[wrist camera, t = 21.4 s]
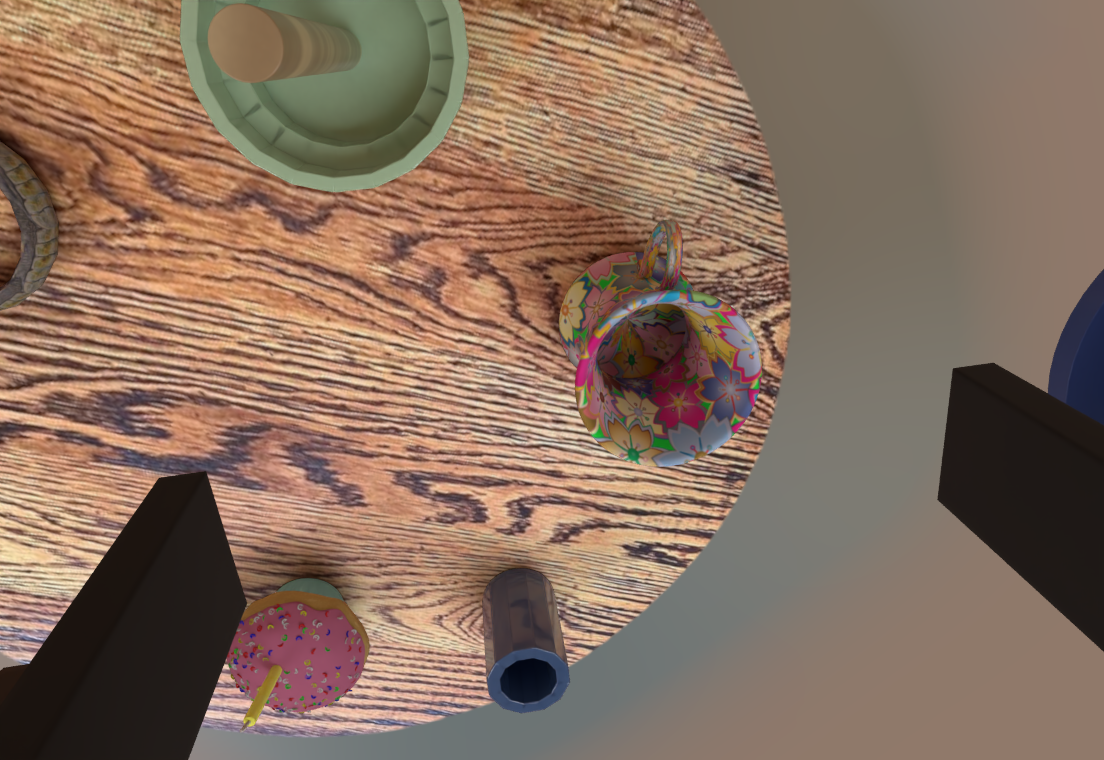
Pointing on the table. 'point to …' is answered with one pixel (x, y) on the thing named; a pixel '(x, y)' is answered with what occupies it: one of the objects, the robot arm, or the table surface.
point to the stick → (278, 45)
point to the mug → (657, 357)
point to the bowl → (341, 92)
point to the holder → (523, 642)
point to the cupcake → (297, 649)
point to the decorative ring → (28, 227)
